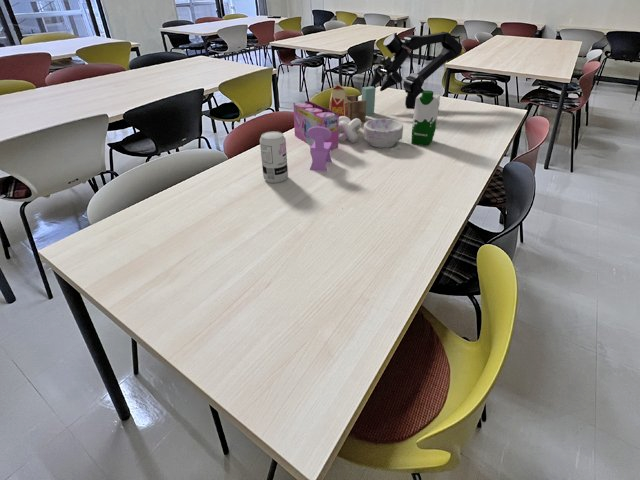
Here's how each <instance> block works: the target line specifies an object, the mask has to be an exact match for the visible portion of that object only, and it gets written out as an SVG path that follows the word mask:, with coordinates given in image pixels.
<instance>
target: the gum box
mask: <svg viewBox="0 0 640 480" xmlns="http://www.w3.org/2000/svg"><path fill="white" fill-rule="evenodd" d="M293 122H294V123H293V124H294V136H295V137H296V138H298V139H299V140H301V141H303V142H304V143H306V144H307V145H309V146H310V147H311V146H312V145H313V143H314V141H315V140H313V139H312V138H311V137H309V135H308V129H309V128H311V127H315V126H319V127H325V128H327V129H329V130H330V131H331V132H332V135H331V137H330V138H329V139H328V140H326V141H325V142H332V148H331V150H330V151H333V150H338V149H339V142H338V134H339V133H340V132H339V114H337V113H335V112H333V111H331V110H329V108H326V107H323V106H322V105H319V104H316V103H315V102H313V101H310V100H306V101H304V102H299V103H295V102H294V103H293Z"/></svg>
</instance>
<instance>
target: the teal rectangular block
mask: <svg viewBox="0 0 640 480" xmlns="http://www.w3.org/2000/svg"><path fill="white" fill-rule="evenodd" d="M376 89H377V88H376V87H374V86H373V87H372V86H370V85H369V86H364V87H361V100H366V116H370V115H374V114H375V103H376Z"/></svg>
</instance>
